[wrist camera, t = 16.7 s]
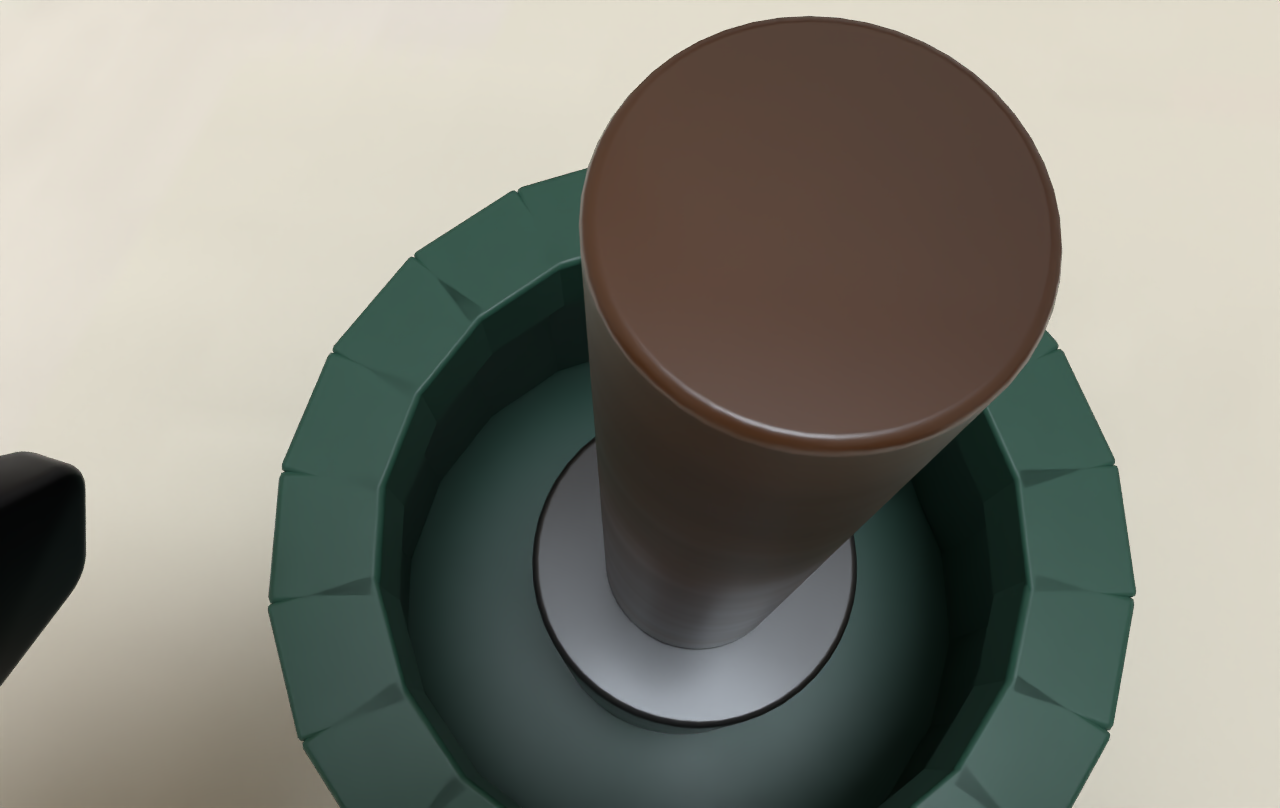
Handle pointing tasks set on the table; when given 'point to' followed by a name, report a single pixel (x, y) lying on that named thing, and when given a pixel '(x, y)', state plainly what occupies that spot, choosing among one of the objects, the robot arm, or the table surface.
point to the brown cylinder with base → (777, 350)
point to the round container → (517, 638)
